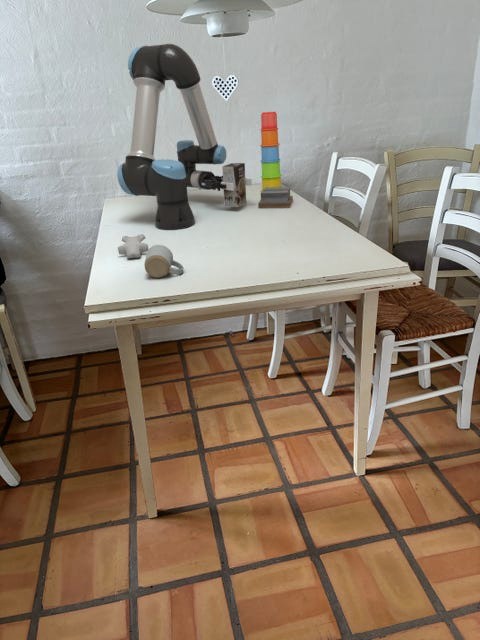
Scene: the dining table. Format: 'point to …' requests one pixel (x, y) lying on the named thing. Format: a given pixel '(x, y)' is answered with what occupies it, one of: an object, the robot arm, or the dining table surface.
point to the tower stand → (275, 197)
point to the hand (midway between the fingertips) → (242, 184)
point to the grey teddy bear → (133, 246)
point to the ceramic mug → (161, 262)
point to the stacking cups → (270, 151)
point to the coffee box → (236, 176)
